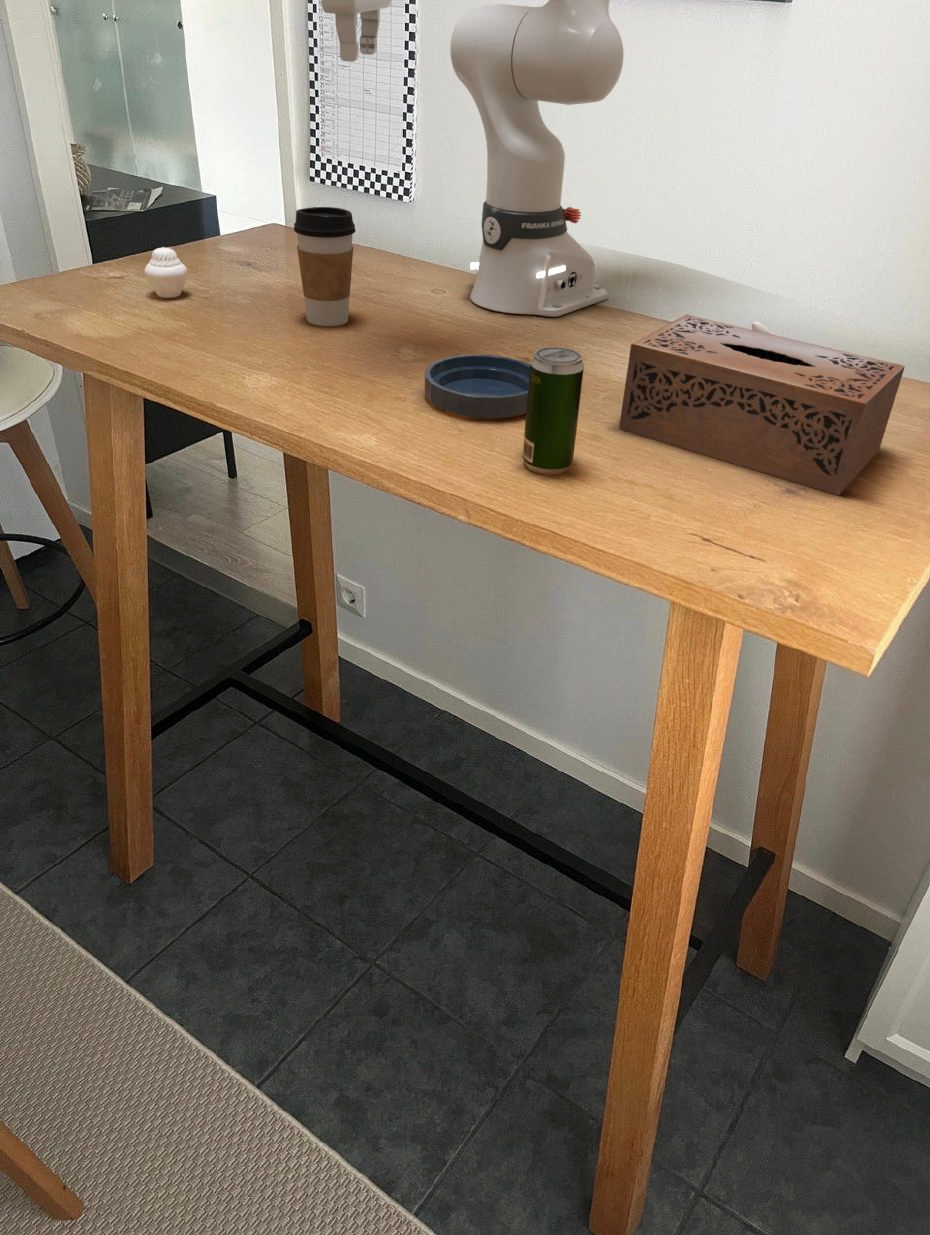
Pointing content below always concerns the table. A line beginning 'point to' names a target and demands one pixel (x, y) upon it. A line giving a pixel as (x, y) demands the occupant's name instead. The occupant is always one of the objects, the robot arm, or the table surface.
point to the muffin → (166, 273)
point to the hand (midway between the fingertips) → (359, 57)
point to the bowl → (478, 386)
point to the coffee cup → (325, 262)
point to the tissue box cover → (760, 400)
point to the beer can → (552, 409)
